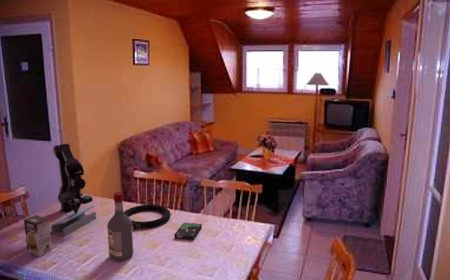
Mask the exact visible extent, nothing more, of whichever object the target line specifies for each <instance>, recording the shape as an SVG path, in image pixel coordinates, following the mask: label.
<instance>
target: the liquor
mask: <svg viewBox="0 0 450 280" xmlns="http://www.w3.org/2000/svg"><path fill="white" fill-rule="evenodd" d="M123 195H124V194H123V192H121V191H120V192H119V191H117V192H114V193H113V201H114V215H113V216H112V217H111V218H110V219H109V220H108V222H107V227H106V228H107V242H108V254H109V255H108V256H109V258H110V259H112V260H113V261H115V262H116V263H120V262H121V263H122V262H125V261H126V260H129V259H131V258H133V256H134V238H133V237H134V236H133V231H132V221H131V220H132V219H131V218H130V217H129V216H128V217H127V216H126V215H125V214H124V212H125V211H124V201H123V200H124V198H123Z"/></svg>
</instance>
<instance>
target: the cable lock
mask: <svg viewBox="0 0 450 280" xmlns="http://www.w3.org/2000/svg"><path fill="white" fill-rule="evenodd" d="M144 211H145V212H146V211H148V212H149V211H154V212H159V213H162V214H163V216H161V217H160V218H157V219H154V220H147V221H138V220H136V221H135V220H132V219H131V221H132V232H133V231H135V230H142V229H151V228H155V227H159V226H161V225H163V224H165V223H166V222H168V221H169V220H170V219H171V211H170V210H169V209H168V208H167V207H165V206H164V205H163V206H162V205H159V204H142V205H141V204H140V205H135V206H134V207H133V206H132V207H131V208H128V209H125V211H124V214H125V215H126V216H127V217H129V216H131V215H132V214H135V213H139V212H144Z"/></svg>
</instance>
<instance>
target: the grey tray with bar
mask: <svg viewBox="0 0 450 280" xmlns="http://www.w3.org/2000/svg"><path fill="white" fill-rule="evenodd" d="M96 219H97V212H96V211H92V212H91V213H88V214H86V212H84V213H82V214H80V215H78V216H76V217H74V218H73V219H71V220H69V221H67V222H65V223H62V224H58V225H53V226H51V225H50V235H51V234H52V235H57V236H62V237H67V236H69V235H70V234H72V233H73V232H76V231H77V230H79V229H80V228H83V227H84V226H86V225H88V224H89V223H91V222H93V221H94V220H96Z"/></svg>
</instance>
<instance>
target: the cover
mask: <svg viewBox="0 0 450 280" xmlns="http://www.w3.org/2000/svg"><path fill="white" fill-rule="evenodd" d="M93 208H94V205H91V206H87V207H83V208H79V210H78V212H77V213H76V214H75V213H74V212H73V213H71V214H69V215H66V216H64V217H63V218H61V219H59V220H57V221H55V222H53V223H51V224H50V227H51V226H53V225H58V224H62V223H65V222H67V221H69V220H71V219H73V218H74V217H76V216H78V215H80V214H82V213H84V212H85V213H86V212H88V211H90V210H92V209H93Z"/></svg>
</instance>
